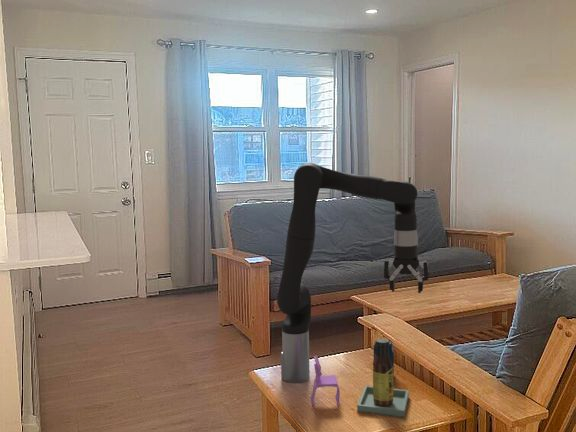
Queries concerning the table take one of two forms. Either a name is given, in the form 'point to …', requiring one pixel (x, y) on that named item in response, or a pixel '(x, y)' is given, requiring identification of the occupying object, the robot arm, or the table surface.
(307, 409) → the table surface
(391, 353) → the soda can
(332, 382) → the chair
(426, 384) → the table surface
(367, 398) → the tray
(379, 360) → the sauce bottle
